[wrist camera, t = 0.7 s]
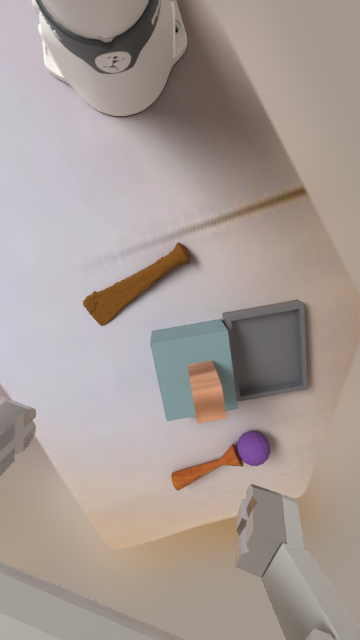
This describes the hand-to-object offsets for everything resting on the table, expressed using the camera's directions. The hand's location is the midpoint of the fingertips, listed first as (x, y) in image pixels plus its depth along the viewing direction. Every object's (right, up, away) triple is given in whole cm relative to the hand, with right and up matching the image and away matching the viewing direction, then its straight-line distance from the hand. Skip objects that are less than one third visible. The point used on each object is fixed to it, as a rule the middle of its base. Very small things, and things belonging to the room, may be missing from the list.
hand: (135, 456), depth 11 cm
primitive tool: (-5, +11, +38) cm, 40 cm away
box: (+17, 0, +42) cm, 45 cm away
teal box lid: (+4, -3, +42) cm, 42 cm away
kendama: (+9, -22, +49) cm, 54 cm away
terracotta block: (+5, -4, +36) cm, 37 cm away
